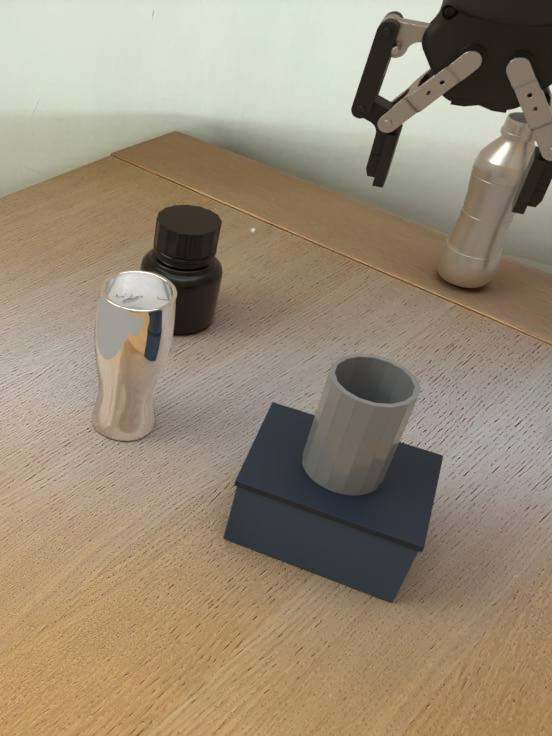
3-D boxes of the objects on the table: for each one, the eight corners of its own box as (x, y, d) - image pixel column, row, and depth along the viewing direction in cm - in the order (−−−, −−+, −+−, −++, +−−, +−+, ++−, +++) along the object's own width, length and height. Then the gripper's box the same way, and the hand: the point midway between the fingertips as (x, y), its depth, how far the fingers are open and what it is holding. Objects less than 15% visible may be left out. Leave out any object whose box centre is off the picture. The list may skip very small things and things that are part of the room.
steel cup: (389, 457, 67) (425, 369, 61) (375, 506, 63) (412, 417, 57) (311, 432, 69) (340, 344, 63) (293, 478, 65) (321, 389, 59)
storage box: (415, 513, 72) (443, 455, 67) (394, 606, 64) (424, 547, 60) (256, 459, 77) (272, 401, 72) (220, 539, 69) (235, 480, 65)
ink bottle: (189, 286, 99) (204, 193, 92) (231, 325, 93) (252, 229, 86) (118, 303, 96) (128, 209, 89) (157, 344, 90) (171, 247, 83)
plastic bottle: (474, 301, 97) (546, 136, 84) (420, 278, 101) (481, 116, 88) (499, 282, 101) (572, 120, 88) (446, 260, 104) (508, 102, 92)
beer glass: (74, 408, 82) (84, 278, 72) (135, 391, 84) (153, 262, 75) (108, 452, 77) (123, 319, 68) (172, 433, 79) (195, 301, 70)
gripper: (697, -86, 44) (567, 194, 55) (415, -106, 49) (346, 154, 60) (711, -58, 39) (565, 245, 50) (396, -84, 44) (324, 196, 55)
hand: (446, 195), depth 55 cm, fingers open, 8 cm apart
